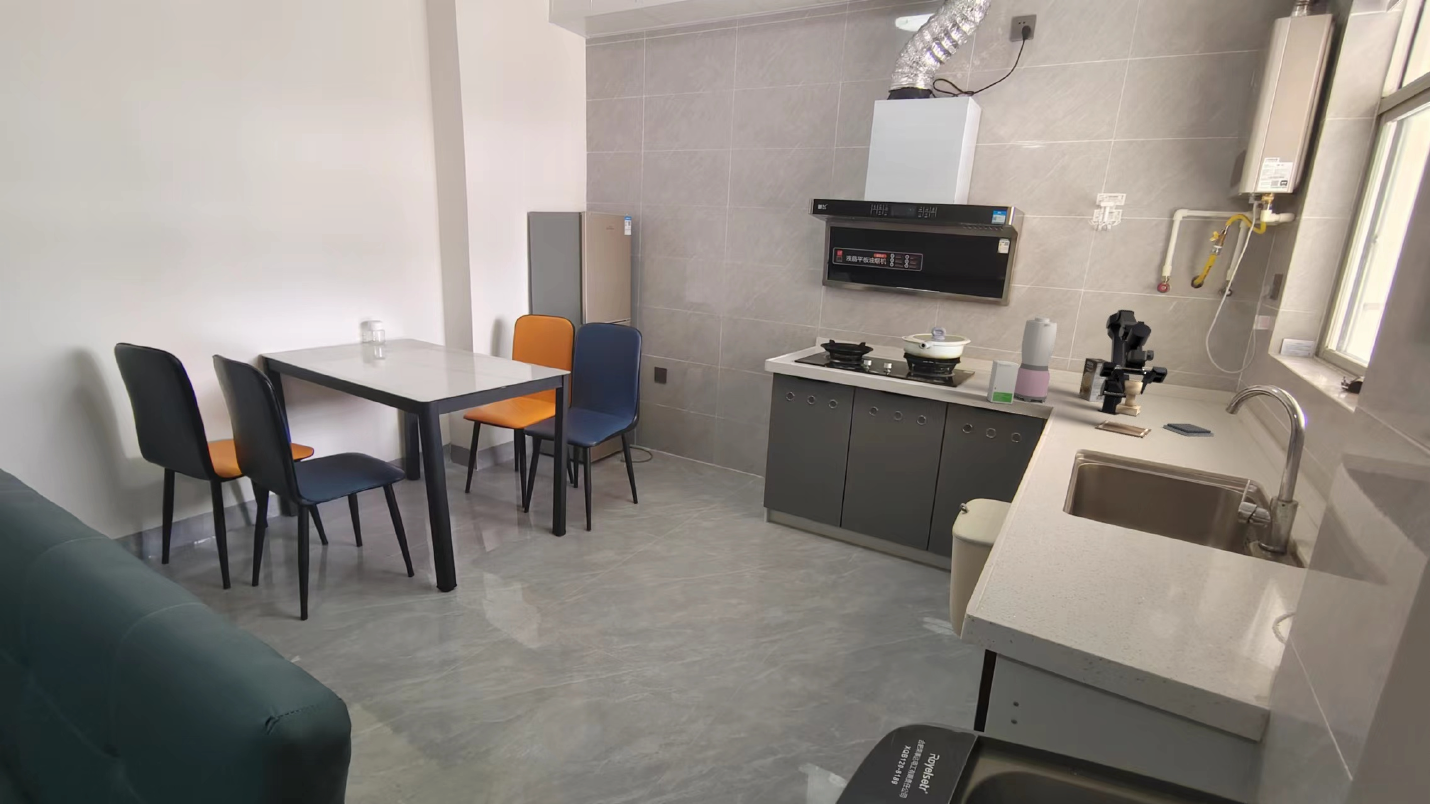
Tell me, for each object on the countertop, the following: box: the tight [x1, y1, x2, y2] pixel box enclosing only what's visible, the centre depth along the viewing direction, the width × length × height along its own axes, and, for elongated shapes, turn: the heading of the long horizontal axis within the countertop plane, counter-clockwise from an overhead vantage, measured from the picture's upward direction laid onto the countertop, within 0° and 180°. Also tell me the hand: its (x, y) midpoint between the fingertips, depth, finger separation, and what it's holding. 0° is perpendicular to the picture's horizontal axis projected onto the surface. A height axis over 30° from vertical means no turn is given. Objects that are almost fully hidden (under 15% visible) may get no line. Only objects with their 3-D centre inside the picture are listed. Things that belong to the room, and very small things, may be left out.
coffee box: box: [1078, 357, 1109, 403], centre depth 269 cm, size 9×6×16 cm
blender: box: [1013, 316, 1058, 403], centre depth 262 cm, size 16×12×32 cm
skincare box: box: [986, 359, 1020, 405], centre depth 255 cm, size 8×7×16 cm
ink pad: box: [1163, 422, 1215, 437], centre depth 227 cm, size 10×10×2 cm
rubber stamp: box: [1115, 379, 1143, 418], centre depth 223 cm, size 6×6×11 cm
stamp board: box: [1094, 420, 1152, 439], centre depth 225 cm, size 14×14×1 cm
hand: (1132, 392), depth 221 cm, fingers closed on rubber stamp, 5 cm apart
